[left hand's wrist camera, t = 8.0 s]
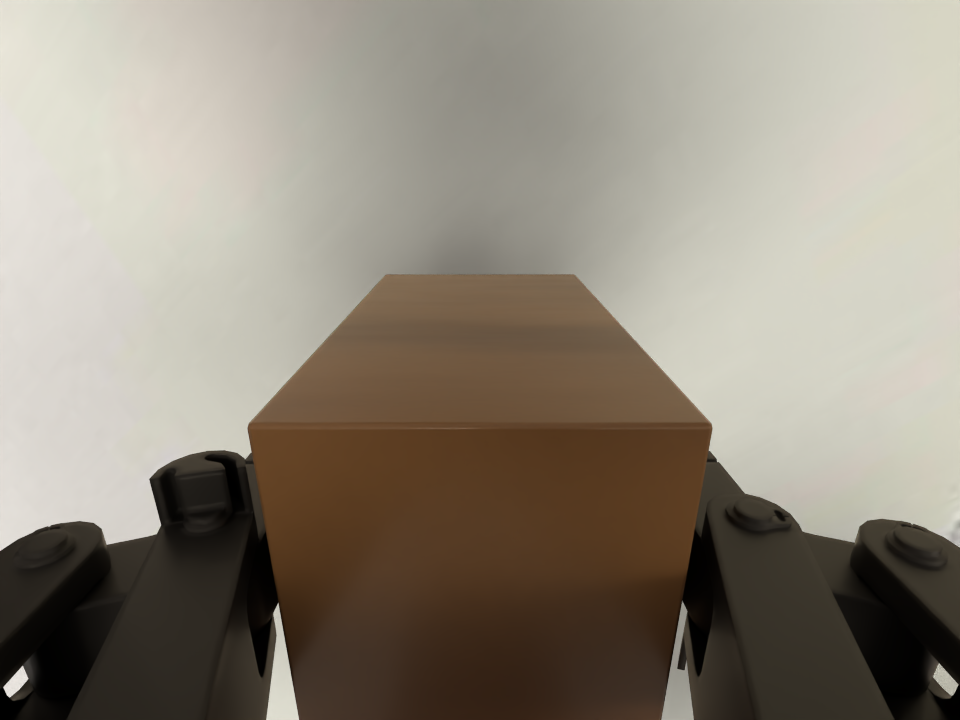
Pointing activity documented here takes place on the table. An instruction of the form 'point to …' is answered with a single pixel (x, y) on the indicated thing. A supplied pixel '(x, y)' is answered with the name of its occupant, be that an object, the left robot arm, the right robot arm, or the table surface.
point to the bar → (480, 507)
